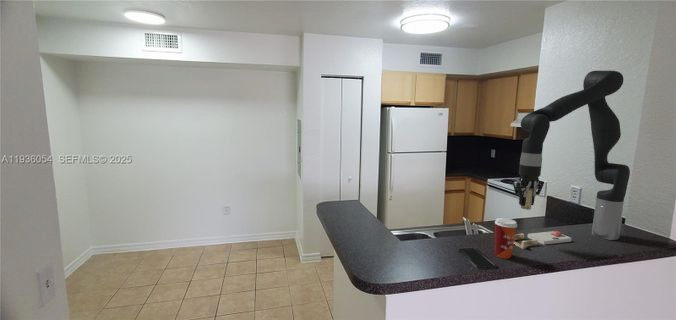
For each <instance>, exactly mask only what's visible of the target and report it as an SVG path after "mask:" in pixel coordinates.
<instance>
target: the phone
mask: <svg viewBox="0 0 676 320" xmlns="http://www.w3.org/2000/svg"><path fill="white" fill-rule="evenodd" d="M458 252H459V253H460V255H461V256H463V258H465V259H466V260H467V261H468V262H469V263H470V264H471V265H472V266H473V267H474V268H476V269H479V270H481V269H485V270H486V269H487V270H488V269H497V267H498V265H497V264H496V263H495V262H494V261H492V260H491V259H490V258H489V257H488V256H486V255H485V254H484V253H483V252H481V251H480V250H479V249H478V248H473V247H471V248H458Z"/></svg>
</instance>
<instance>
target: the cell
mask: <svg viewBox="0 0 676 320" xmlns="http://www.w3.org/2000/svg"><path fill="white" fill-rule="evenodd" d="M523 189H525V188H523ZM523 192H524V191H523ZM522 194H523V193H522ZM532 195H533V190H532V189H529V191H528V192H527V194H526V201H525V206H521V205H520V209H521V210H528V211H529V210H532V205H531V204H532Z"/></svg>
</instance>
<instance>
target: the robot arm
mask: <svg viewBox="0 0 676 320" xmlns="http://www.w3.org/2000/svg"><path fill="white" fill-rule="evenodd" d="M582 83H583V84H582V85H583V89H582V90H581V89H580V90H578V91H575V92H573V93H569V94H567V95H564V96H561V97H559V98H557V99H555V100H554V101H552V102H551V103H549V104H547V105H546V106H544V107H540V108H538V109H536V110H534V111H532V112H529V113H528V114H526V115H524V117H522V118H521V121H520V127H521V129H522V130H523V131H525V132H529V136H528V137H526V138H524V139H523V141H522V147H521V154H520V160H519V169H518V174H519V179H518V180H516V181H513V182H512V185H513V189H514V194H515V195H516V196H518V197H519V199H518V204H519V206H520V207H521V206H525V201H526V194H527V192H528V191H529V189H532V190H533V195H532V204H531V206H534V204H535V198H536V196H539V195H540V194H541V192H542V189H543V187H544V185H545V181H543V180H540V178H539V177H541V174H542V166H543V165H542V163H543V147H544V142H545V140H546V138H547V136H548V133H549V130H550V126H551V125H550V123H552V122H556V121H559V120H560V119H562V118H564V117H566V116H568V114H571V113H572V112H575V111H576V110H577V109H579V108H582V107H584V106H587V108H588V112H589V113H588V114H589V118H590V129H591V131H590V132H591V137H592V144H593V151H594V152H593V153H594V177H595V180H596V181H597V182H599V183H602V184H609V185H612V188H610V189H605V190H604V189H603V190H598V191H597V193H596V198H595V206H594V212H593V220H592V228H591V235H592V236H595V237H598V238H601V239H603V240H608V241H609V240H610V241H617V240H619V239H620V236H621V230H622V223H623V216H622V215H623V210H624V209H623V208H624V202H625V197H626V195H627V194H626V193H627V188H628V184H629V180H630V176H631V169H630V167H629V166H628V165H626V164H623V163H622V164H620V163H613V162H609V160H608V156H609V153H610V152H611V150H612V149H613V148H614V147H615V146H616V144H617V143H619V141H620V140H621V136H622V134H621V133H622V132H621V122H620V120H619V118H618V117H617V115H616V113H615V112H614V111H613V109H612V108H611V107H610V106H609V104H608V102H607V100H606V97H608V96H610V95H614V93H616V92H618V91H619V90H620V89H621V87H622V86H623V85H624V76H623V74H622V72H620V71H616V70H591V71H590V72H588V73H587V74H586V75H585V77H584V79H583V82H582ZM523 188H525V189H523ZM523 191H524V192H523ZM522 193H523V194H522Z"/></svg>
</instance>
